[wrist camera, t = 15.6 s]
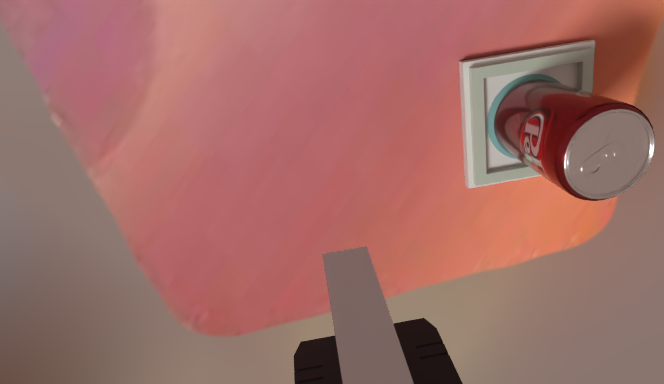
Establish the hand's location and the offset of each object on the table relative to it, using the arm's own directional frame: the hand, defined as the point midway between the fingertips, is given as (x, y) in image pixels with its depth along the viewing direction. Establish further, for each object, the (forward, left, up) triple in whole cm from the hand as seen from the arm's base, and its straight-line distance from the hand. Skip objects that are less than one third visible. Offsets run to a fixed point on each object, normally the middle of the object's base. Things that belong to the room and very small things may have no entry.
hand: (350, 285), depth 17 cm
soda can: (+4, +20, -29) cm, 35 cm away
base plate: (+4, +20, -29) cm, 36 cm away
